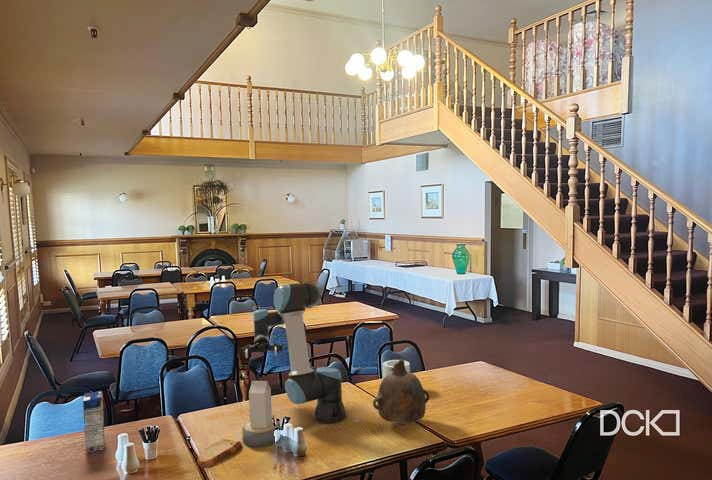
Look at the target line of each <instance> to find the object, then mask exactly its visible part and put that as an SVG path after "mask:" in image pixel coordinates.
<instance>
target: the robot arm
mask: <svg viewBox="0 0 712 480" xmlns="http://www.w3.org/2000/svg"><path fill="white" fill-rule="evenodd" d="M321 295H322V294H321V291H320V288H319V287H318V286H317V285H316V284H314V283H312V282H302V283H301V282H300V283H299V282H298V283H288V284H287V283H286V284H282V285H279V286H278V287H277V288H276V289H275V291H274V294H273V305H274V308H275V311H270V312H269V310H267V309H265V308H264V309H256V310H254V312H253V328H254V330H253V331H254V332H253V333H254V334H253V335H254V336H253V337H254V341H253V345H251V344H249V343H248V344H247V345H245V346H243V347H241V348H239V355H243V356H244V357H245V359H248V356H249V355H248V354H250V353H255V352H256V353H265V352H268V351H270V352H271V351H272V352H274V355H275V356H277V355H278V354H277V353H279V352H283V345H282V344H279V343H276V342H272V343H270V334H269V333H270V332H269V330H270V327H271V328H272V327H277V326H283V325H284V326H285V333H286V335H285V336H286V341H287V349H288V355H289V364H290V371H289V373H288V379H287V380H285V383H284V390H285V393H286V396H287V398H288V400H289V401H290V402H291V403H292V404H294V405H301V404H305V403H308V402H312V401H316V407H315V410H314V413H313V414H314V415H313V418H314V421H315V422H318V423H322V424H333V423H339V422H342V421H344V420H345V419H346V418H347V411H346V408H345V405H344V402H343V394H342V393H343V391H342V390H343V389H342V374H341V371H340V370H339V368H335V367H330V366H324V367H323V366H322V367H317V368H316V369H315V371H314V369H313V368H312V367H311V364H310V359H309V353H308V352H309V351H308V344H307V338H306V337H307V336H306V331H305V330H306V329H305V324H304V317H303V315H304V314H305V312H306V310H307V309H312V308H314V307H315V306H317V305H318V304H319V302H320V301H321V297H322V296H321Z"/></svg>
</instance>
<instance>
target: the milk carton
mask: <svg viewBox="0 0 712 480" xmlns="http://www.w3.org/2000/svg"><path fill="white" fill-rule="evenodd" d="M250 384H251V385H250V388H249V391H248V404H249V407H248V408H249V422H250V428H267V427H268V426H269V424H270V423H271V422H272V420H273V415H272V409H273V408H272V394H271V393H272V392H271V389H272V388H271V386H270V385H269V384H268V380H267V381H266V380H265V381H264V380H251V383H250Z"/></svg>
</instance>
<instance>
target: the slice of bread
mask: <svg viewBox="0 0 712 480" xmlns="http://www.w3.org/2000/svg"><path fill="white" fill-rule="evenodd" d="M242 444H243V443H242V441H239V440H238V441H234V440H231V439H224V438H223V439H220V440H218V441H217V442H213V443H212V444H210V445H209V446H207V447H205V448H204V450H203V451H202V452H201V453H200V454H199V456H198V457H197V458H198V459H197V466H198V467H200V468H209V467H211V466H214V465H216V464H218V463H219V461H220V462H221V461H223V460H224V459H226V458H228V457H230V456H231V455H232V454H234V453H235V452H236V451H237V450H238V449H239V448H241V447H242ZM213 464H214V465H213Z"/></svg>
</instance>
